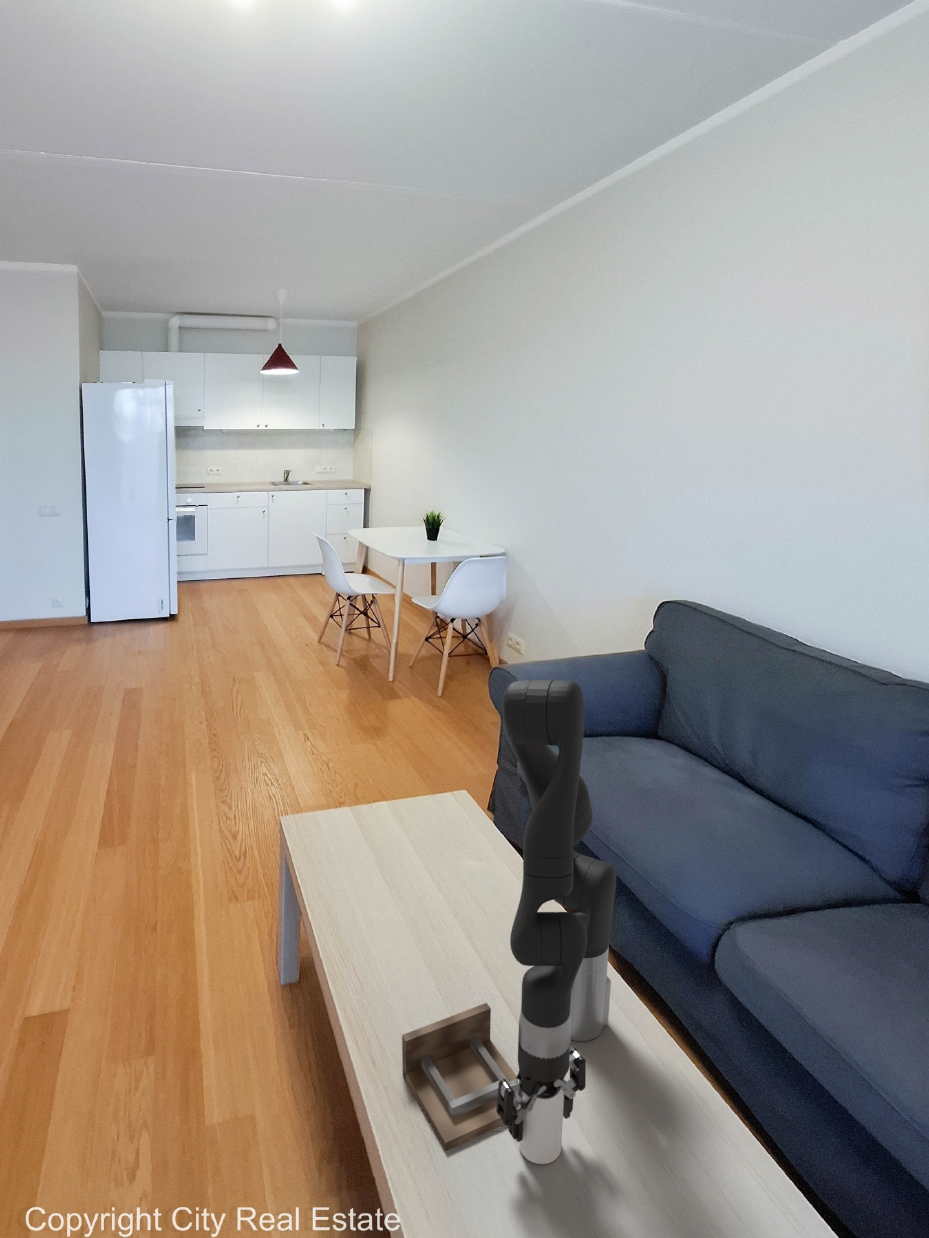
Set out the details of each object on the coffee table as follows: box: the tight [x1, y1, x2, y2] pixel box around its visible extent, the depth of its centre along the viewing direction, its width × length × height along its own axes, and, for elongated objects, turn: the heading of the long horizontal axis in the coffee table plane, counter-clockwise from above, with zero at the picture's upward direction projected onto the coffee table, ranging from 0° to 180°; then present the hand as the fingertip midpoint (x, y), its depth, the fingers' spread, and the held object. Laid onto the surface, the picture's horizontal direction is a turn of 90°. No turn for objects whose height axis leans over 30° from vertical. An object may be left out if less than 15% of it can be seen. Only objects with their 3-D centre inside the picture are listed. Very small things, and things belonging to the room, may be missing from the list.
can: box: [518, 1086, 564, 1165], centre depth 120 cm, size 6×6×12 cm
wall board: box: [401, 1002, 520, 1152], centre depth 130 cm, size 16×16×8 cm
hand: (540, 1125), depth 121 cm, fingers open, 8 cm apart
